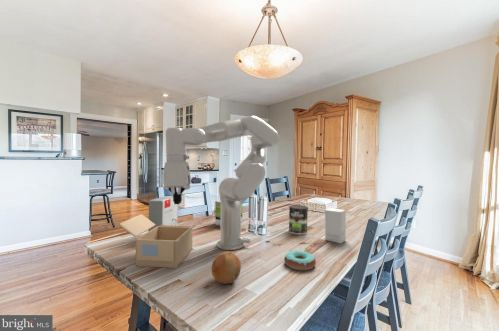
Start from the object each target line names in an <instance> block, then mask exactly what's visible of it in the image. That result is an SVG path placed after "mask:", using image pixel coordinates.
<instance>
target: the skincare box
mask: <svg viewBox="0 0 499 331" xmlns="http://www.w3.org/2000/svg"><path fill="white" fill-rule="evenodd" d="M324 222H325V223H324V226H325V227H324V229H325V230H324V231H325V232H324V235H325V239H324V240H325V241H328V242H332V243H336V244H337V243H338V244H342V243H344V242H345V241H346V239H347V237H346V235H347V234H346V230H347V229H346V209H339V208H332V207H329V208H327V209H324Z"/></svg>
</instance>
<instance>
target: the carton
mask: <svg viewBox="0 0 499 331" xmlns="http://www.w3.org/2000/svg"><path fill="white" fill-rule="evenodd" d="M191 227H192V226H191V225H177V226H175V225H160V226H157V227H155V228H154V229H152V230H150V231H149V232H148V231H146V232H145V233H144V234H142V235H141V236H138V237H137V238H135V266H136V267H150V268H151V267H155V268H171V269H173V268H174V269H177V268H178V267H179V266H180V265H181V264H182V263H183V262H184V260H185V259H186V258H187V256H188V255H189V254H190V253H191V252H192V251H193V228H192V229H191V230H190V231H189V232H188V233H187V234H185V235H184V236H183V237H182V238H181V239H179V238H180V237H181V236H182V235H183V234H184V233H185V232H187V231H188V230H189V229H190V228H191Z"/></svg>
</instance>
